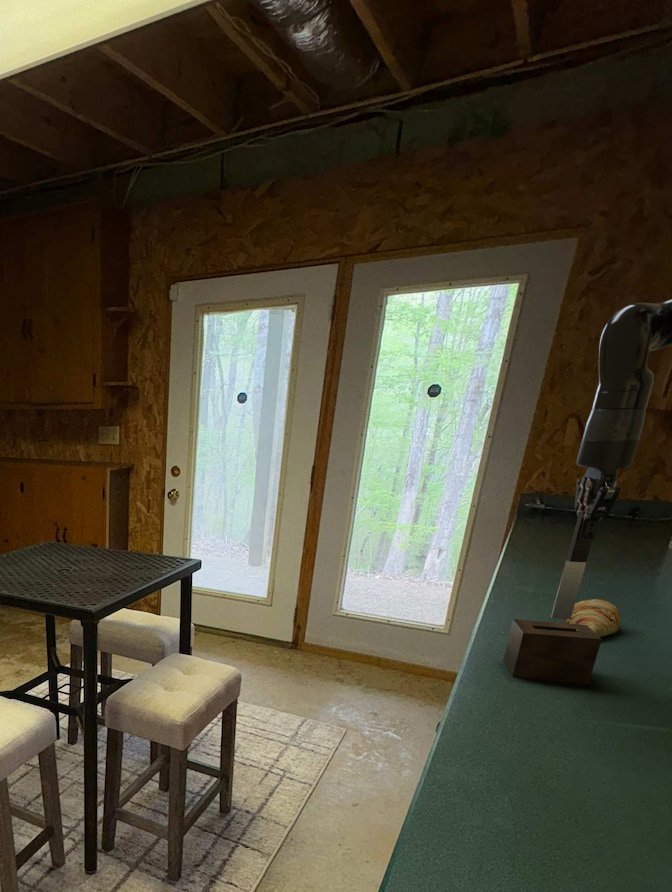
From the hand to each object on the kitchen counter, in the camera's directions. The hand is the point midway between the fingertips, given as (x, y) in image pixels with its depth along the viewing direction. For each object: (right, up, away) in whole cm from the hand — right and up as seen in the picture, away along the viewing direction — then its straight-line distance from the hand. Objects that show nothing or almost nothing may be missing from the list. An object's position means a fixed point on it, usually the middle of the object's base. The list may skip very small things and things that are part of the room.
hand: (583, 538), depth 112 cm
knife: (0, -14, +6) cm, 15 cm away
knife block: (0, -24, +10) cm, 26 cm away
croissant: (+27, -15, +32) cm, 44 cm away
